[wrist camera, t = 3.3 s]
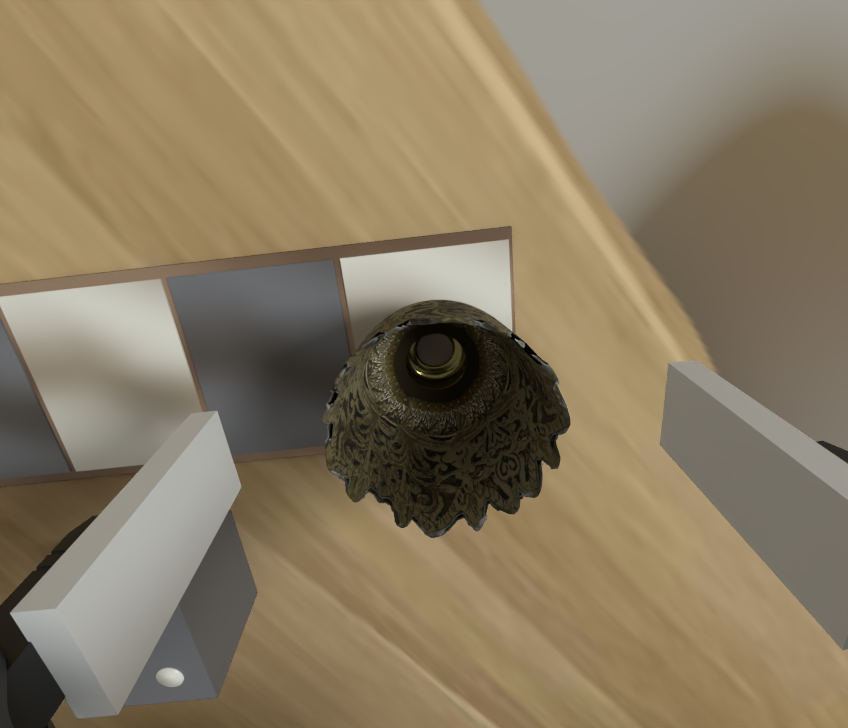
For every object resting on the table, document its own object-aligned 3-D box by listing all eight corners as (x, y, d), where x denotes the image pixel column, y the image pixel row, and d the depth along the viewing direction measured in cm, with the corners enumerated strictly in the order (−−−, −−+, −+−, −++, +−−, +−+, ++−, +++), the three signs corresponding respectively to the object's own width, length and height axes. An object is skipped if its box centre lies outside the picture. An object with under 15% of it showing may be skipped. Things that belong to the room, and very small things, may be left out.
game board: (518, 431, 23) (519, 434, 23) (-61, 491, 24) (-67, 494, 24) (510, 226, 20) (511, 226, 19) (-174, 303, 20) (-182, 305, 20)
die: (257, 591, 27) (216, 699, 22) (157, 601, 27) (90, 711, 22) (231, 508, 25) (177, 605, 19) (121, 519, 25) (37, 618, 19)
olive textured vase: (320, 355, 21) (270, 450, 14) (426, 230, 19) (433, 263, 12) (440, 446, 23) (453, 572, 16) (548, 341, 21) (620, 428, 14)
